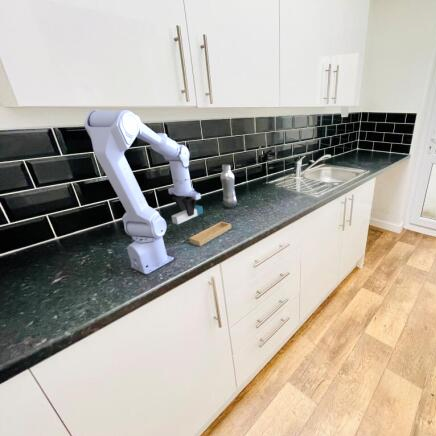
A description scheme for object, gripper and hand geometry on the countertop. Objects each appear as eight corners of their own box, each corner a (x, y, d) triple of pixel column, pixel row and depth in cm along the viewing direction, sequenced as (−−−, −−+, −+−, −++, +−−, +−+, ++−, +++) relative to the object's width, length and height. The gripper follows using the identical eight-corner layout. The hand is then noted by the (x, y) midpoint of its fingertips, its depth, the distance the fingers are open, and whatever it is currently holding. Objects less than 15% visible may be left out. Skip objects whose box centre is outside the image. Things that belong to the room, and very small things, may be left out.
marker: (178, 224, 91) (176, 217, 90) (172, 222, 93) (170, 215, 92) (203, 213, 101) (202, 206, 100) (198, 211, 102) (197, 204, 101)
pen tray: (200, 246, 89) (199, 241, 88) (189, 242, 92) (189, 238, 91) (231, 228, 102) (231, 223, 101) (222, 225, 104) (221, 221, 104)
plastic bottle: (225, 209, 120) (219, 167, 112) (222, 205, 126) (217, 164, 117) (238, 207, 122) (234, 166, 114) (236, 203, 128) (231, 163, 120)
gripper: (204, 179, 91) (210, 214, 96) (177, 174, 97) (183, 207, 103) (188, 184, 85) (195, 221, 91) (160, 178, 92) (168, 213, 97)
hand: (188, 214), depth 96 cm, fingers closed on marker, 3 cm apart
